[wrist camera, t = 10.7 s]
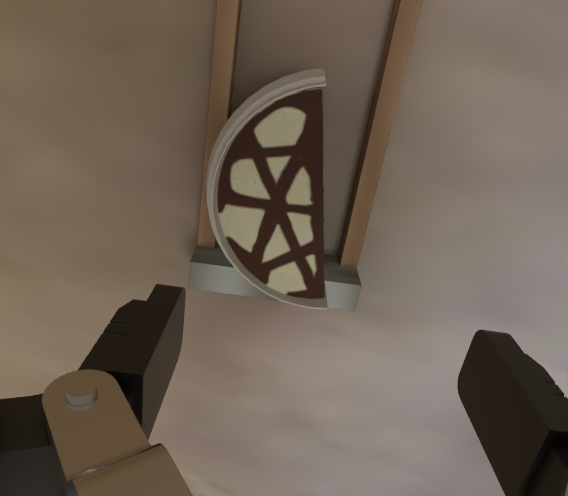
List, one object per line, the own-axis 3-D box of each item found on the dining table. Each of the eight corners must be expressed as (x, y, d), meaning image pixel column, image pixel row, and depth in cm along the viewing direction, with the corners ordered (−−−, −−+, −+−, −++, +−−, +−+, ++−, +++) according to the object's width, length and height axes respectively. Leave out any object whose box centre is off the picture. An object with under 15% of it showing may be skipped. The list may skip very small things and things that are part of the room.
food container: (216, 65, 28) (181, 76, 19) (314, 61, 28) (326, 70, 19) (234, 245, 34) (213, 321, 24) (317, 242, 33) (328, 317, 24)
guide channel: (492, -318, 21) (534, -393, 18) (348, 282, 35) (355, 311, 31) (252, -370, 21) (244, -458, 17) (199, 261, 34) (188, 288, 30)
